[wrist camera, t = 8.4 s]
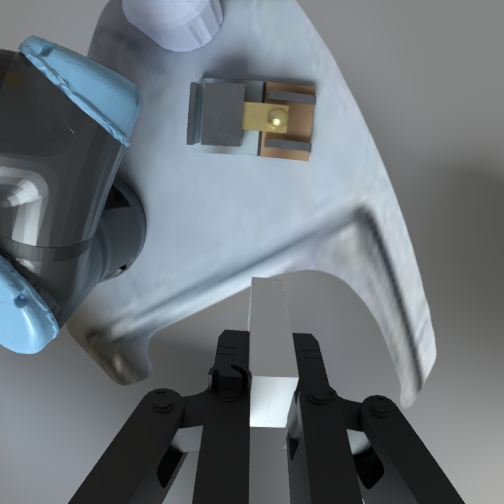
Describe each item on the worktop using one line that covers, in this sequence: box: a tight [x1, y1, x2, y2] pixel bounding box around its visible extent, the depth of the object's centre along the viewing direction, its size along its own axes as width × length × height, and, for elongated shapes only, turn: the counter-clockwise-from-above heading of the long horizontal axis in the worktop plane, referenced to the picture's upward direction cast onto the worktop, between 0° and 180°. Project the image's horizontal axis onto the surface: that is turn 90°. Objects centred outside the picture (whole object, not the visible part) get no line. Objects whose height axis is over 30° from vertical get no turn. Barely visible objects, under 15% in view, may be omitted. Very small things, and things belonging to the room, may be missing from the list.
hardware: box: [187, 82, 316, 152], centre depth 31 cm, size 13×7×5 cm, turn 85°
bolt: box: [242, 102, 289, 133], centre depth 30 cm, size 7×3×5 cm, turn 86°
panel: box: [194, 78, 315, 161], centre depth 34 cm, size 13×9×1 cm
